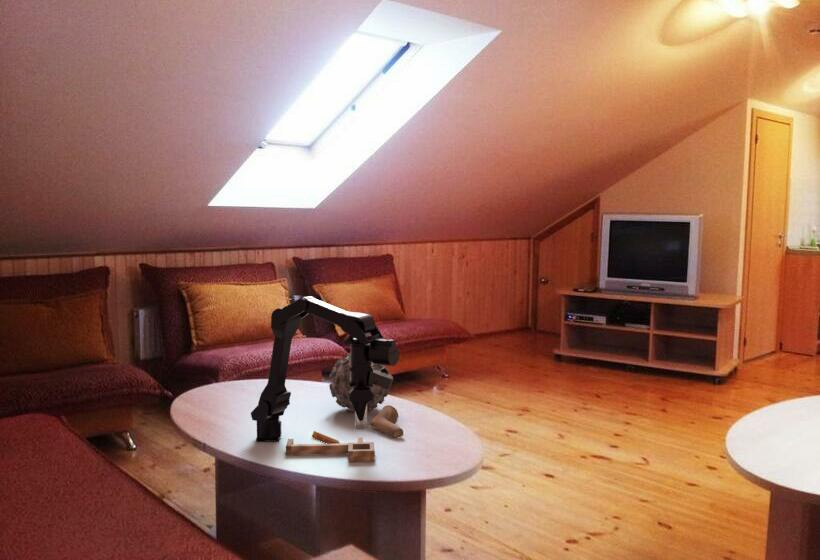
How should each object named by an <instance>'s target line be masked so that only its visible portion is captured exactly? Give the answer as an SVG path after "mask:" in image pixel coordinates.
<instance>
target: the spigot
mask: <svg viewBox="0 0 820 560" xmlns="http://www.w3.org/2000/svg"><path fill="white" fill-rule="evenodd" d="M354 429H355V430H361V431H362V430H366V429H368V412H367V405H366V410H365V414H364V419H363V421H359V419H358V417H357V414H356V412H355V413H354Z"/></svg>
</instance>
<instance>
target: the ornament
mask: <svg viewBox="0 0 820 560" xmlns="http://www.w3.org/2000/svg"><path fill="white" fill-rule="evenodd" d="M372 365H373V369H374V370H380V369H381V368H382V367H384V368H386V369H388V367H387V366H385V365H381V364H374V363H372ZM388 374H390V373H389V372H388ZM328 380H329V381H331V383H329V384H328V385H329V391H330V394H331V396H332V398H335V399H336V400H335V403H336V404H337V405H338V406H340V407H342V408H344V409H345V408H347V409H348V411H349V412H351V413H352V412H353V413H354V414H355V409H354V407H353V405H352V402H351V401H349V391H350V389H352V388H353V386H350V353H348V354H345V355H344V356H342V359H340V358H339V359H337V360H336V361H335V364H334V366H333V367H332V369H331V372H330V374H329V377H328ZM368 387H369V386H368ZM370 388H371V389H372V390H373V393H374V401H369V402H368V403H367V413H368V412H371V411H372V410H374V409H376V408H378V404H379V405H382V404H383V403H384V402H385V398H387V397H388V394H389V390H386V389H384V388H383V387H380V386H377V385H375V384H373V387H370Z"/></svg>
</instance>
